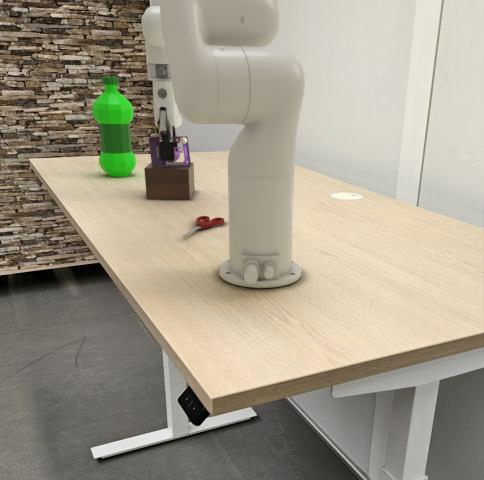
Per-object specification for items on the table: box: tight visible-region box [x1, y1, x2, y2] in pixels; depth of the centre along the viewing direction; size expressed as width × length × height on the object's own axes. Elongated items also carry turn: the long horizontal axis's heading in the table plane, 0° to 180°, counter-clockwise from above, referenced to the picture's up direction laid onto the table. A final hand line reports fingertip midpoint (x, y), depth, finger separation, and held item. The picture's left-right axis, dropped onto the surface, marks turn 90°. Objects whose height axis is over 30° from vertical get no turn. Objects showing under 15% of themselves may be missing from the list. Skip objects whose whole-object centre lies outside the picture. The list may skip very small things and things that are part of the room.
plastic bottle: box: [91, 76, 137, 178], centre depth 154 cm, size 10×10×25 cm
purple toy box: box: [147, 135, 192, 167], centre depth 135 cm, size 7×5×9 cm
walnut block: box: [143, 161, 196, 201], centre depth 137 cm, size 10×10×7 cm
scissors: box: [183, 215, 225, 237], centre depth 111 cm, size 5×14×1 cm, turn 164°
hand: (169, 157), depth 135 cm, fingers closed on purple toy box, 4 cm apart
